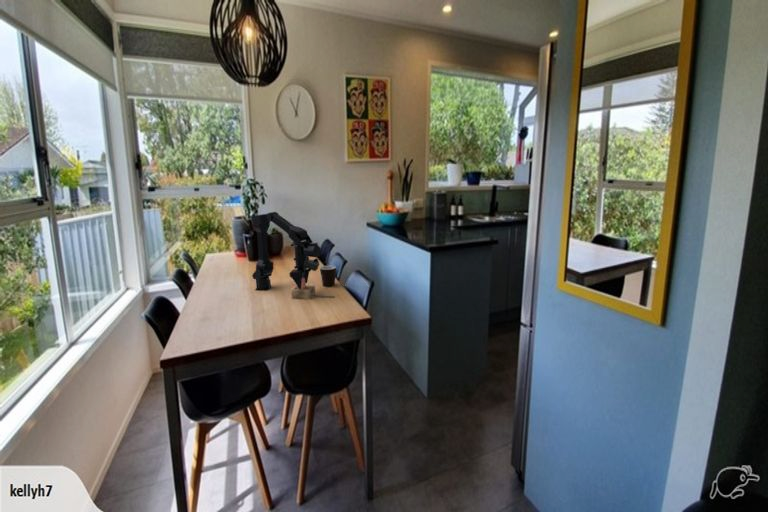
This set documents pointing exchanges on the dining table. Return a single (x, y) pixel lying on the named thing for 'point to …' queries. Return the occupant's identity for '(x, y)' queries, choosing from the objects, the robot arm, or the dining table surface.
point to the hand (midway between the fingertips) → (303, 285)
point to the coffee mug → (328, 275)
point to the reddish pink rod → (303, 284)
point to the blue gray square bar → (324, 296)
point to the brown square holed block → (303, 292)
